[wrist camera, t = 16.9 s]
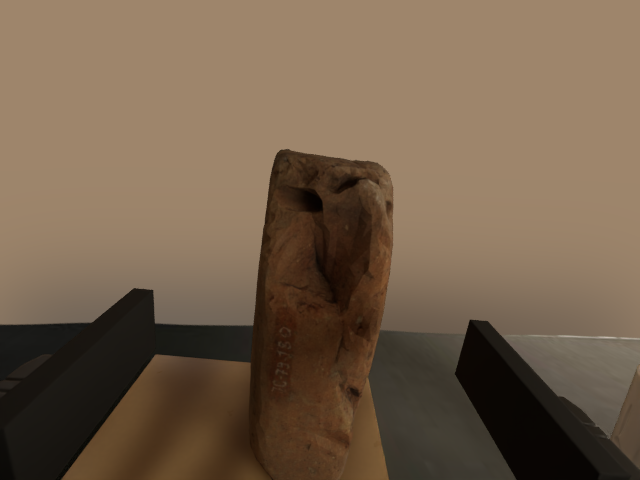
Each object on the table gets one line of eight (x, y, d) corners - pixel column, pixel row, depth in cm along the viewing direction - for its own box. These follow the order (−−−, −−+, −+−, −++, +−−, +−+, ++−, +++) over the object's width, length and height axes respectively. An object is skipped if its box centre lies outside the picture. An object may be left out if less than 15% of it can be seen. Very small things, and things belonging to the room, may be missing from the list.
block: (264, 374, 30) (280, 145, 24) (346, 383, 30) (383, 157, 24) (231, 501, 19) (245, 150, 13) (358, 513, 19) (426, 171, 14)
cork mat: (31, 527, 18) (29, 520, 17) (155, 359, 31) (155, 354, 31) (400, 553, 18) (402, 546, 18) (366, 378, 32) (367, 372, 31)
